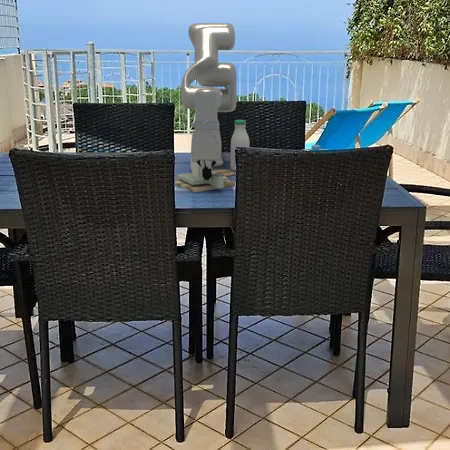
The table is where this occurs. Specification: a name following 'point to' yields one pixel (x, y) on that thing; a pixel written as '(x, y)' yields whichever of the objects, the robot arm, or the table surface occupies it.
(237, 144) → the milk bottle
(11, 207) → the table surface
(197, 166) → the box with copper trim
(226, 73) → the robot arm
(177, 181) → the stand
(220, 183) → the green piece
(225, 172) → the mat
